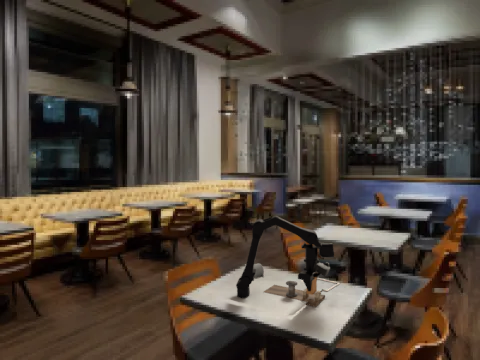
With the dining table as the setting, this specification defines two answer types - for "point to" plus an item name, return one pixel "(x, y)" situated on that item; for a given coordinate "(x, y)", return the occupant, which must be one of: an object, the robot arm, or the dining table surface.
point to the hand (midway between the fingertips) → (311, 289)
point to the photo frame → (328, 281)
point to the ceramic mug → (259, 270)
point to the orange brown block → (313, 287)
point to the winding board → (296, 293)
